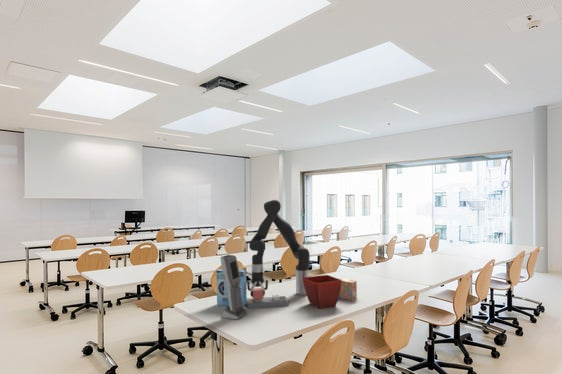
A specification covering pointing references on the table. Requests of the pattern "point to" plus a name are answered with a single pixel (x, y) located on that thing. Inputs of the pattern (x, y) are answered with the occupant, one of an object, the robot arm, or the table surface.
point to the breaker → (275, 297)
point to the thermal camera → (232, 288)
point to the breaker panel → (267, 302)
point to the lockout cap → (257, 293)
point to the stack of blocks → (348, 289)
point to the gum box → (222, 288)
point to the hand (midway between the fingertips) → (257, 296)
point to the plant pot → (322, 290)
